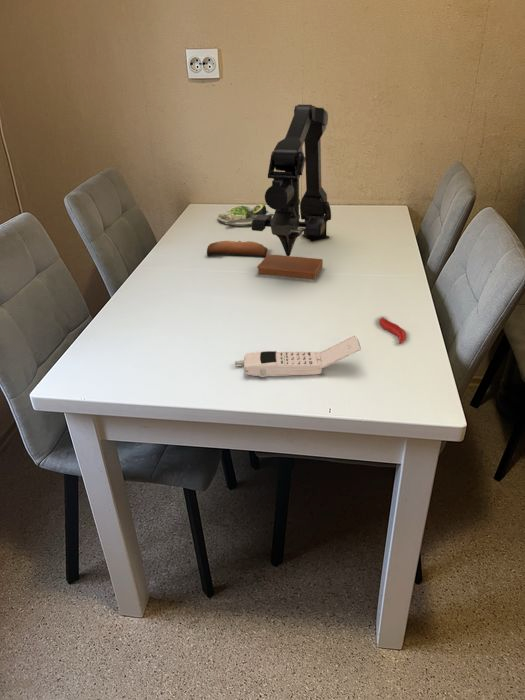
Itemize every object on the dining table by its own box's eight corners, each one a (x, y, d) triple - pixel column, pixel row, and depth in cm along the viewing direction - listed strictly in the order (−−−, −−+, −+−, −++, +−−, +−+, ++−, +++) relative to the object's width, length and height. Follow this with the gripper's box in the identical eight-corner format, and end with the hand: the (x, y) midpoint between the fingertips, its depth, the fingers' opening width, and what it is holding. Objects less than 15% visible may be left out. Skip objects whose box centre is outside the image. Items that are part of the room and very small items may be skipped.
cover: (314, 273, 149) (314, 272, 148) (257, 268, 153) (257, 266, 153) (322, 260, 156) (322, 259, 156) (267, 255, 161) (267, 254, 160)
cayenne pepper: (409, 343, 121) (410, 335, 120) (388, 344, 121) (389, 336, 120) (396, 317, 132) (397, 310, 131) (376, 318, 132) (377, 311, 131)
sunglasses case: (270, 247, 172) (268, 233, 166) (267, 266, 168) (265, 252, 163) (213, 246, 175) (209, 231, 169) (209, 264, 171) (205, 250, 166)
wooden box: (314, 281, 150) (315, 273, 149) (258, 276, 155) (258, 267, 154) (322, 269, 158) (322, 260, 156) (268, 264, 162) (267, 255, 161)
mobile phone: (362, 349, 108) (232, 353, 109) (360, 375, 111) (234, 379, 112) (357, 334, 114) (233, 338, 114) (355, 359, 117) (235, 363, 117)
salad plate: (244, 233, 185) (243, 219, 183) (205, 223, 195) (204, 210, 193) (279, 217, 198) (279, 204, 196) (241, 209, 208) (240, 196, 205)
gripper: (242, 204, 140) (245, 263, 148) (315, 209, 134) (315, 270, 142) (257, 192, 149) (259, 248, 157) (326, 196, 143) (324, 254, 151)
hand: (288, 255), depth 152 cm, fingers closed
